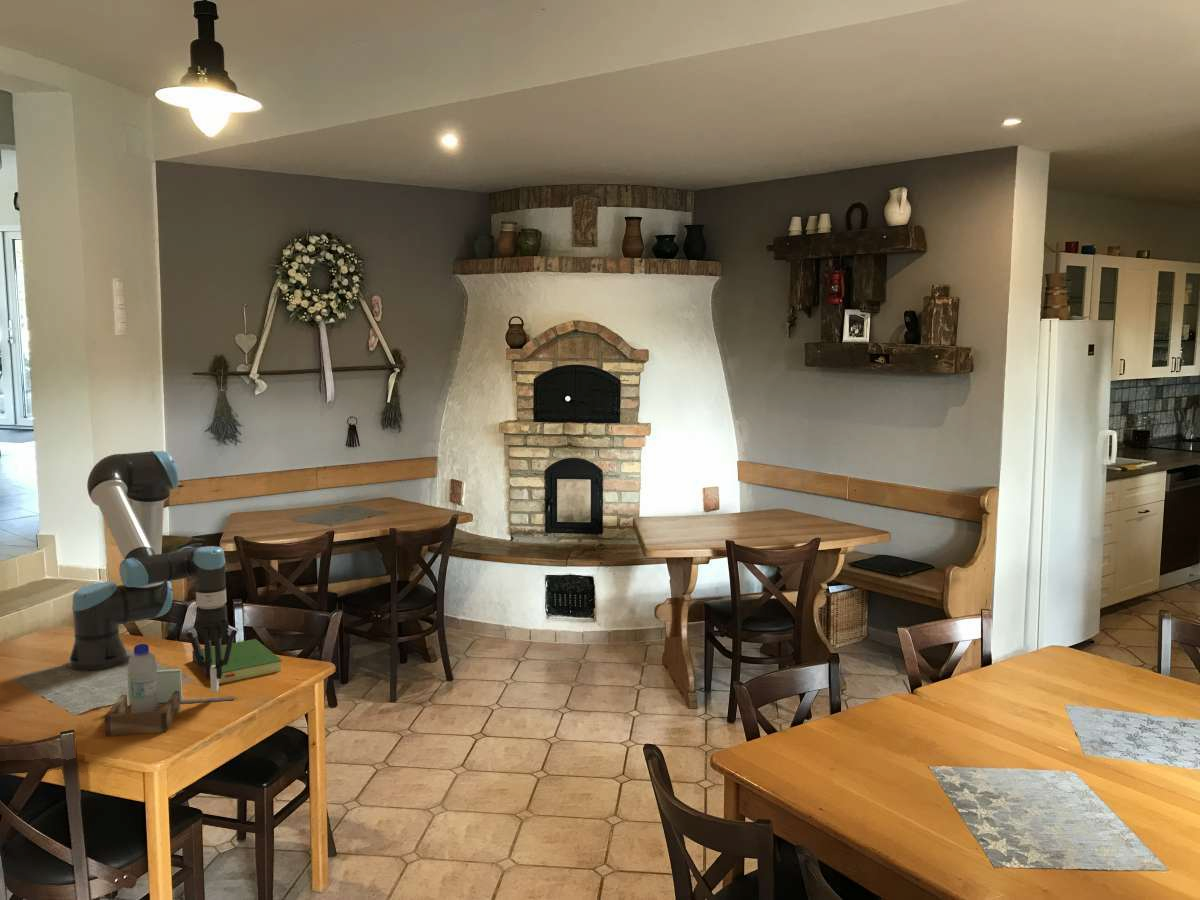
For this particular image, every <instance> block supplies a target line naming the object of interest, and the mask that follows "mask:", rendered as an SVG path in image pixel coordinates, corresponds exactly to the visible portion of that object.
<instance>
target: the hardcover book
mask: <svg viewBox="0 0 1200 900" xmlns="http://www.w3.org/2000/svg"><path fill="white" fill-rule="evenodd" d="M221 646H222V660H223V659H224V655H225V651H226V646H227V643H226V644H221ZM201 650H202V654H203V657H204V660H205V647H204V648H201ZM211 650H212V665H216V660H215V646H211ZM191 654H192V662H193V663H194V664H195V665H196V666H197V667H198V669H200V671H202V672H203V674H204V675H206V668H205V667H203V666H201V667H200V666H198V663H197V660H196V656H195V653H194V650H192V653H191ZM282 661H283V660H282V659H281V658H280V657H279V656H278V655H276V654H275V653H273V651H272V650H270V649H269V648H267V647H266V646H265V645H263V643H261V642H260V641H259V640H258V639H256V638H253V639H248V640H242V641H237V642H233V645H232V650H231V654H230V659H229V662H228V663H227V665H223V666H222V677H221V679H218V680H219V685H220V684H225V683H231V682H234V681H240V680H245V679H250V678H255V677H259V676H263V675H267V674H268V675H270V674H272V673H277V672H281V671H282Z"/></svg>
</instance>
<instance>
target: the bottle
mask: <svg viewBox="0 0 1200 900" xmlns="http://www.w3.org/2000/svg"><path fill="white" fill-rule="evenodd" d="M157 670H158V664H157V660H156V655H155V654H154V653H151V652H150V647H149V645H148V644H146V643H140V644H139V643H138V644H137V645H135V646H134V648H133V655H132V656H130V657H129V659H128V666H127V673H129V675H128V676H129V677H130V685H131V707H130V711H131V712H130V713H139V712H153V711H160V710H159V708H160V707H159V705H158V699H157V686H156V673H157ZM128 676H127V677H128Z"/></svg>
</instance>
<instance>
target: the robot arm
mask: <svg viewBox="0 0 1200 900" xmlns="http://www.w3.org/2000/svg"><path fill="white" fill-rule="evenodd" d="M86 483H87V484H86V487H87V493H88V496H89V498H90V501H91V502H92V503H93V504H94V505H96V506H98V507H99V509H100V512H101V514H102V516H103V519H104V520H105V523H106V525H107V527H108V529H109V531H110V533H111V535H112V538H113V540H114V542H115V544H116V546H117V548H118V550H119V552H120V555H121V557H122V560H121V562H120V564H119V571H118V572H119V576H120V580H121V584H120V585H117V584H116V583H115V582H113V581H103V582H96V583H91V584H88V585H85V586H83V587H81V588H79V589H77V590H76V591H75V592H74V593H73V595H72V606H71V608H72V615H73V628H74V630H73V633H74V643H73V646H72V648H71V652H70V655H69V668H70V669H71V670H75V671H79V672H80V671H83V672H87V671H89V672H91V671H101V670H106V669H109V668H113V667H117V666H119V665H122V664H123V663H125V662H126V661H127V658H128V656H127V649H126V648H125V645H124V643H123V640H122V638H121V637H120V633H119V632H120V631H119V626H120V625H123V624H124V625H125V624H129V623H135V622H139V621H145V620H153V619H156V618H159V617H162V616H165V615H166V614H167V613H168V612H170V609H171V607H172V603H173V599H174V598H173V596H174V595H173V594H174V593H173V591H172V590H173V587H172V583H171V582H172V581H178V580H179V581H180V580H184V579H189V578H192V579H194V589H195V590H194V591H195V605H196V606H197V607H196V609H195V610H196V611H195V612H196V623H195V625H194V628H192V629H189V630H188V631H187V632H186V634H185V636H186V638H187V639H188V640H189V641H190V643H191V647H192V649H193V650H194V653H195V656H196V660H197V663H198V666H200V667H201V666H203V667H205V668H206V674H205V678H206V680H210V692H211V693H217V692H218V691H219V689H220V688H219V687H220V686H219V685H220V684H219V680H218V679H221V677H222V666H223V665H227V663H228V662H229V659H230V654H231V650H232V645H233V643H234V641H235V637H236V635H237V634H238V631H239V628H237V627H233V626H231V625H230V622H229V620H228V610H227V609H228V608H227V607H228V606H227V604H226V603H227V587H226V581H227V580H226V558H225V557H226V556H225V550H224V548H222V547H221V546H215V545H211V546H210V545H207V546H201V547H196V546H184V547H182V548H180V549H179V550H178V551H173V552H171V551H170V552H166V553H165V552H164V553H162V551H163V549H162V547H163V533H164V532H163V531H164V530H163V527H164V508H165V506H164V505H165V501H167V500H168V499H169V498H170V495H171V494H170V493H171V490H175V489H176V488H177V487H178V485H179V474H178V468H177V465H176V463H175V460H174V457H172V456H171V454H170V453H168V451H164V450H160V451H159V450H158V451H156V450H150V451H141V452H128V453H115V454H110V455H108V456H105V457H104V458H102V459H100V460H99V461H97V463H95V465H94V466H93V467H92V469H91V471H90V472H89V475H88V478H87V482H86ZM226 632H227V635H228V638H227V643H226V644H227V646H226V651H225V655H224V659H223V660H222V646H221V645H222V639H223V636H224V635H225V634H226ZM198 634H199V635H200V636H201V638H202V639H203V645H204V648H205V660H204V657H203V654H202V650H201V649H202V648H201V644H200V642H199V638H198ZM212 640H213V641H214V642H213V643H214V647H215V660H216V665H212V650H211V647H212ZM193 650H192V651H193ZM198 666H197V667H198Z"/></svg>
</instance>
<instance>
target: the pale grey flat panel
mask: <svg viewBox="0 0 1200 900" xmlns="http://www.w3.org/2000/svg"><path fill="white" fill-rule="evenodd" d="M128 675H129V673H128V672H127V687H128V688H127V689H128V692H127V693H128V706H129V705H131V685H130V677H129V676H128ZM182 680H183V679H182V668H176V669H175V668H173V669H172V668H171V669H157V673H156V686H157V699H158V703H164V702H168V700H169V699H170V697H171V696H172V694H173V693H174V691H179V693H180V701H182V700H184V699H183V698H184V697H183V682H182Z"/></svg>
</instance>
